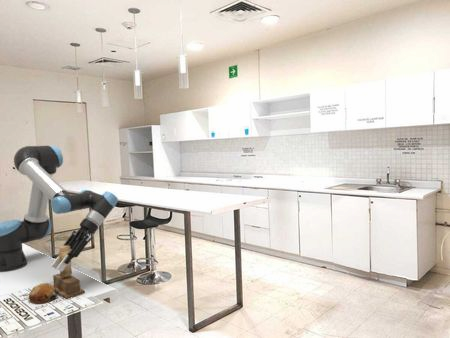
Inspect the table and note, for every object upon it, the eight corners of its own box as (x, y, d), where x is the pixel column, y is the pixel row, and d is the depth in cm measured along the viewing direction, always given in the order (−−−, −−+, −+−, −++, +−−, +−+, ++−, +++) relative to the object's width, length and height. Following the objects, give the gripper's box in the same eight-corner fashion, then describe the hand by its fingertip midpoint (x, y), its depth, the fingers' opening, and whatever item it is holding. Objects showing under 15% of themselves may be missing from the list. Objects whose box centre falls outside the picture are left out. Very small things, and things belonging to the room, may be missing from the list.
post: (58, 275, 147) (56, 247, 146) (68, 271, 151) (67, 244, 150) (63, 277, 144) (61, 249, 143) (73, 274, 148) (71, 246, 147)
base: (49, 289, 150) (48, 275, 150) (67, 283, 156) (67, 270, 156) (65, 299, 140) (65, 285, 139) (85, 293, 146) (84, 279, 145)
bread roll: (53, 300, 147) (48, 282, 149) (62, 296, 141) (57, 277, 143) (28, 309, 140) (23, 290, 141) (37, 305, 134) (32, 285, 135)
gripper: (107, 229, 152) (72, 278, 141) (88, 224, 163) (54, 268, 152) (95, 220, 148) (58, 269, 136) (76, 215, 159) (40, 259, 148)
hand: (56, 268), depth 144 cm, fingers closed on post, 4 cm apart
